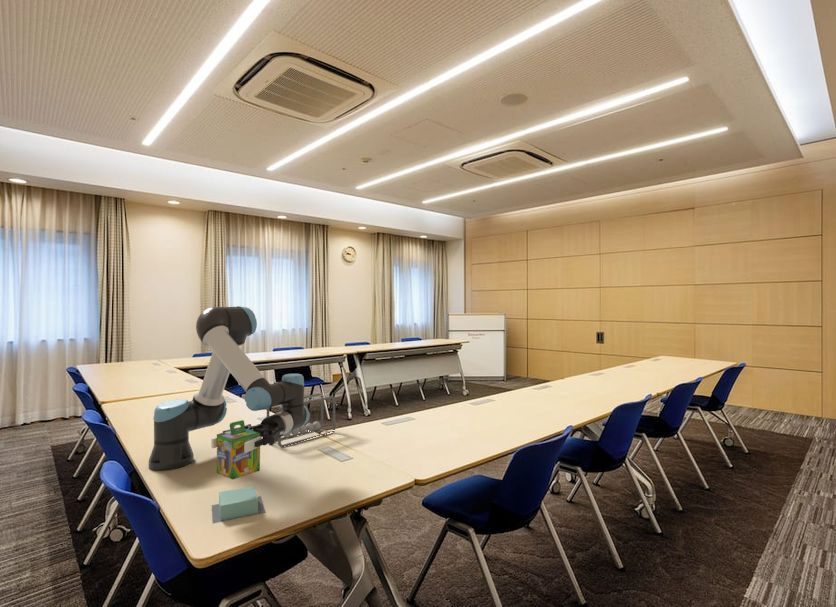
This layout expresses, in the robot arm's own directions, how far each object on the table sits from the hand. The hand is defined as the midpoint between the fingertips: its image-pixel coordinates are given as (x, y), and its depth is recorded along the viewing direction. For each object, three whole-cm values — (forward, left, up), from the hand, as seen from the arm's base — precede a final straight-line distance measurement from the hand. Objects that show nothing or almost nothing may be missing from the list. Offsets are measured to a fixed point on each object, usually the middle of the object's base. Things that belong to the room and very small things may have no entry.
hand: (228, 445), depth 125 cm
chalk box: (+3, +3, -9) cm, 10 cm away
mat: (+3, +3, -21) cm, 21 cm away
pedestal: (+3, +3, -20) cm, 20 cm away
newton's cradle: (+34, +65, -21) cm, 77 cm away
